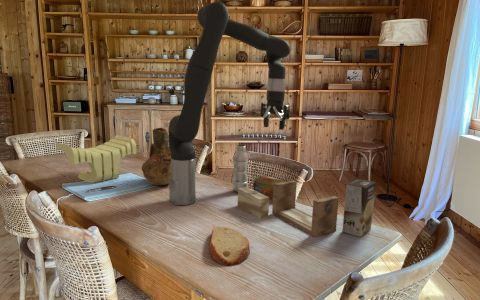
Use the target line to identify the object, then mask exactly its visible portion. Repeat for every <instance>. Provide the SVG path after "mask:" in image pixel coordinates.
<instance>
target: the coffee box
mask: <svg viewBox="0 0 480 300" xmlns="http://www.w3.org/2000/svg"><path fill="white" fill-rule="evenodd" d="M376 186H377V182H376V181H371V180H368V179H360V178H356V179H354V180H352V181H349V182H347V183H346V187H345V188H346V190H345V198H344V206H343V207H344V209H343V219H342V232H343V233H346V234H350V235H353V236H355V237H360V238H361V237H362V236H363V235H364V234H366V233H367V232H368V231H370V230H371V229H372V223H373V214H374V203H375V197H376V196H375V195H376V194H375V193H376Z"/></svg>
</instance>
